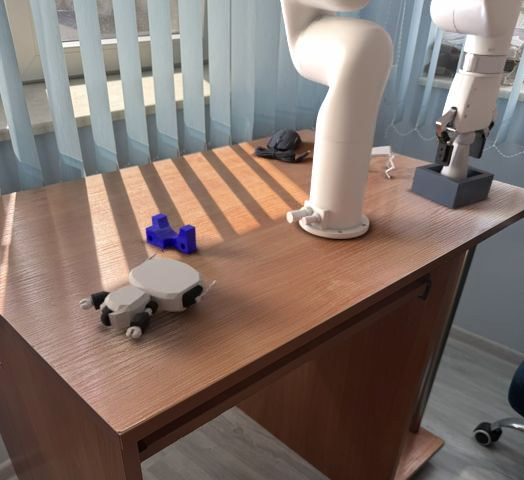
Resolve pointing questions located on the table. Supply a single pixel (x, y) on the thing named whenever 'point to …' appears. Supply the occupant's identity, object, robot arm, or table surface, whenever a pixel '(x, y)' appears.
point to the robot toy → (149, 294)
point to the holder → (451, 185)
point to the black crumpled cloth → (282, 146)
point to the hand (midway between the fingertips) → (457, 160)
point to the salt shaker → (459, 157)
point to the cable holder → (170, 235)
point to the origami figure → (384, 155)
